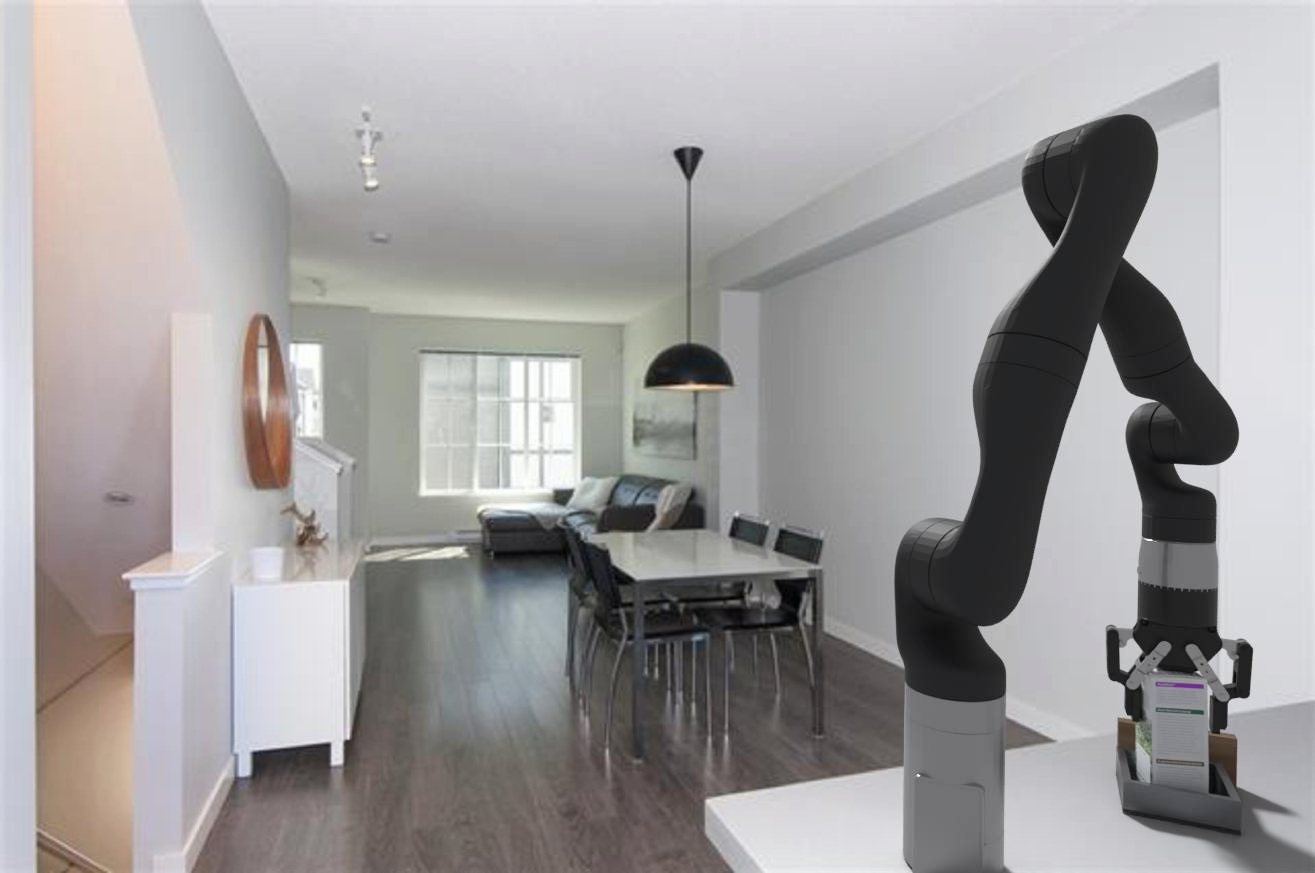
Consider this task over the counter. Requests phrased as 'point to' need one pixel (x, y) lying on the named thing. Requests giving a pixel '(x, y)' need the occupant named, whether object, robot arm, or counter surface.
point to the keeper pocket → (1179, 798)
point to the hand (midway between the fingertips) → (1174, 725)
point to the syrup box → (1173, 730)
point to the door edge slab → (1218, 746)
